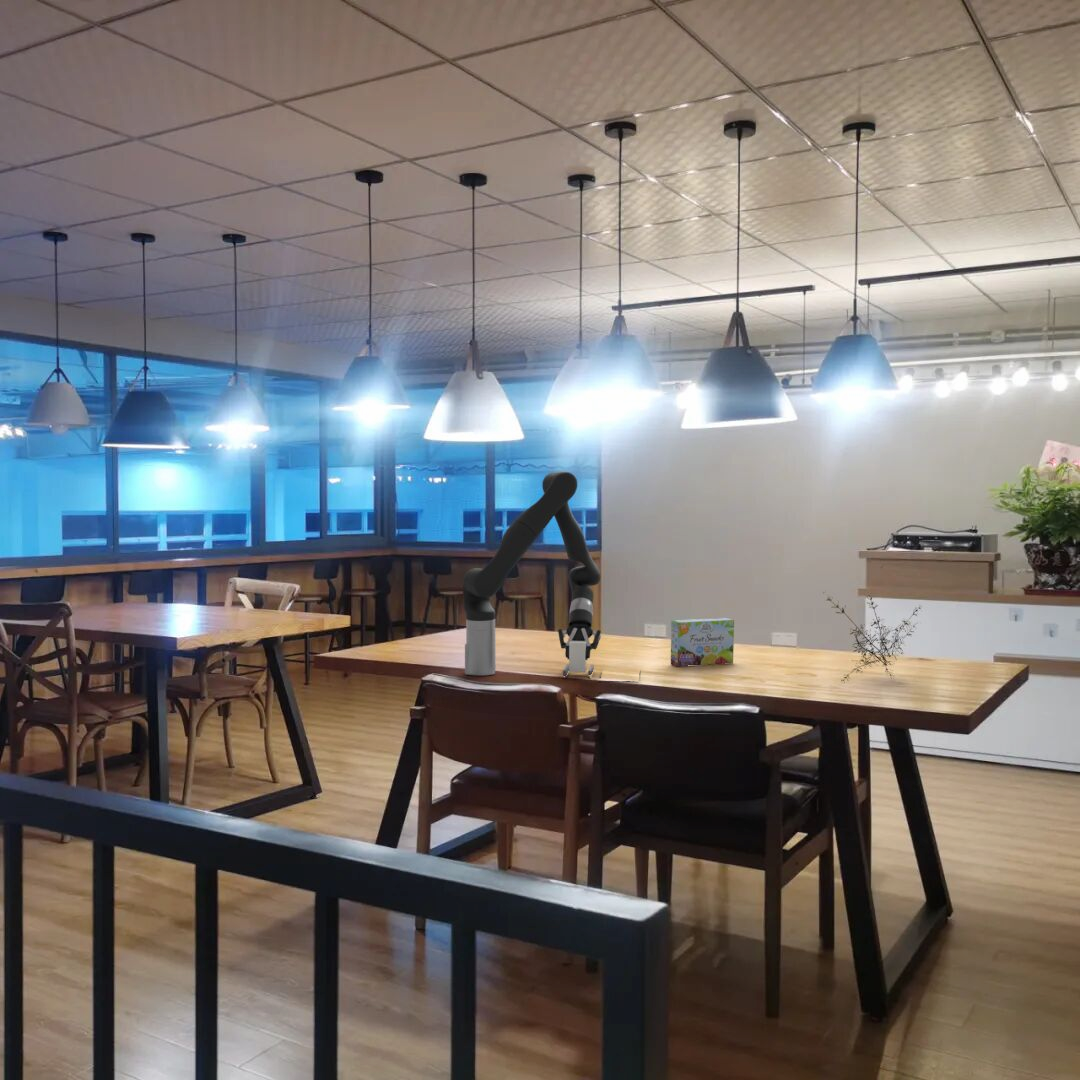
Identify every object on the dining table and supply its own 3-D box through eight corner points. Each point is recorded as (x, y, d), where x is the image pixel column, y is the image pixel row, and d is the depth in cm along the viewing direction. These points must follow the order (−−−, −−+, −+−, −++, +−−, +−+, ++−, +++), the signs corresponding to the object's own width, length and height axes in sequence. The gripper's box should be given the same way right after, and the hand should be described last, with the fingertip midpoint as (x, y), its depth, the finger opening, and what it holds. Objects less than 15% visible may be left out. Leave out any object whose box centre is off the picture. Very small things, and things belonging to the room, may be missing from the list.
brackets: (563, 678, 325) (563, 670, 325) (566, 671, 337) (566, 664, 337) (590, 679, 324) (590, 670, 324) (593, 672, 336) (593, 664, 336)
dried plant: (852, 614, 341) (819, 564, 305) (954, 628, 325) (931, 578, 289) (833, 704, 333) (796, 665, 297) (935, 724, 317) (910, 685, 281)
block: (569, 671, 328) (569, 642, 328) (570, 669, 333) (570, 640, 333) (585, 672, 328) (585, 643, 327) (586, 669, 333) (586, 640, 332)
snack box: (678, 667, 345) (678, 621, 344) (670, 665, 350) (670, 619, 350) (734, 663, 353) (734, 618, 352) (725, 661, 358) (725, 616, 358)
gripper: (558, 607, 338) (553, 650, 327) (602, 608, 336) (600, 651, 325) (559, 622, 344) (555, 664, 332) (603, 623, 342) (601, 666, 330)
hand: (577, 658), depth 329 cm, fingers closed on block, 5 cm apart
